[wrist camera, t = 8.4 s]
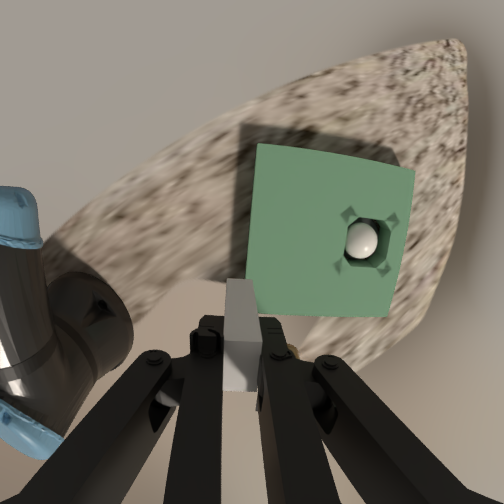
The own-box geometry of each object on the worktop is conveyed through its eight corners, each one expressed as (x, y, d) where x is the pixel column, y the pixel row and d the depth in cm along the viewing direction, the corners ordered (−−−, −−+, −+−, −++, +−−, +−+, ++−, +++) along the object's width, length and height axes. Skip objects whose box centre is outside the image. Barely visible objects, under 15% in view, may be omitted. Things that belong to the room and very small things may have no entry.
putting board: (242, 300, 34) (242, 312, 31) (256, 146, 29) (257, 143, 26) (377, 306, 34) (386, 316, 32) (402, 170, 30) (415, 170, 27)
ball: (370, 255, 32) (338, 251, 32) (375, 223, 31) (343, 218, 31) (377, 265, 28) (342, 260, 29) (384, 228, 27) (348, 222, 28)
